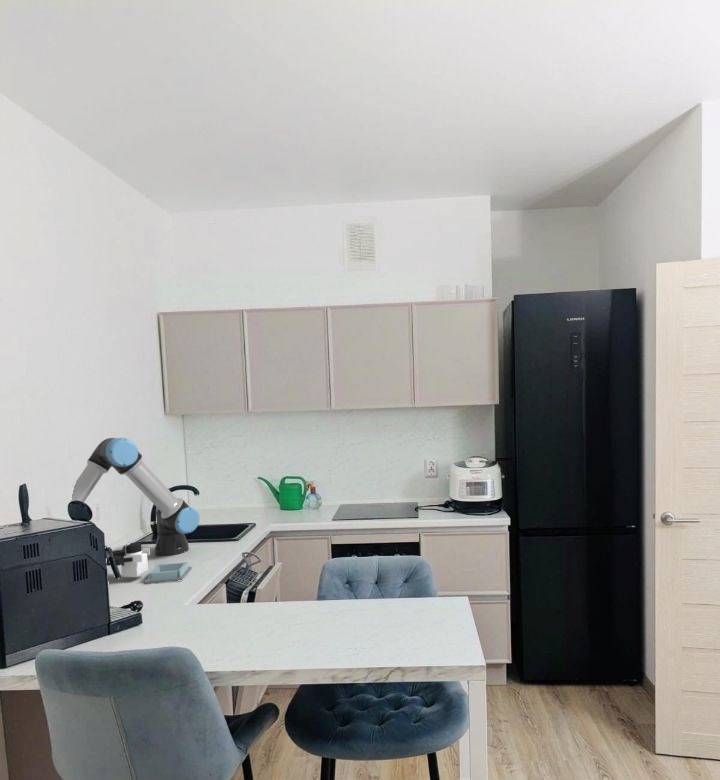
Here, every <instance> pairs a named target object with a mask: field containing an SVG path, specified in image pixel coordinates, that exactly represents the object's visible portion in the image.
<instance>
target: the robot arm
mask: <svg viewBox="0 0 720 780" xmlns="http://www.w3.org/2000/svg"><path fill="white" fill-rule="evenodd" d="M86 462H87V464H86V466H85V468H84V469H83V471H82V472H81V473H80V475H79V477H78V478H77V479H76V481H75V482H76V484H75V483H74V484H75V486H74V490H73V494H72V500H71V501H73V500H78V501H82V502H84V503H85V501H86V500H87V498H88V497H89V496H90V495H91V494H92V491H93V490H94V489H95V487H96V486H97V484H98V483H99V481H100V480H101V478H102V477H103V475H104V474H107V473H108V472H109V471H110V469H111V468H113V469H114V470H115V471H116V472H117V473H118V474H119V475H125V476H126V477H127V478H128V479H129V480H130V481H131V482H132V483H133V484H134V485H135V486H136V487H137V488H138V489H139V491H141V492H142V494H143V495H144V496H145V497H146V498H148V500H149V501H150V502H151V503H152V504H153V505H154V506H155V514H156V516H155V517H156V529H157V539H156V542H155V545H154V546H155V547H154V554H155V555H156V556H160V555H166V556H173V555H172V554H174V555H178V553H179V554H182V553H181V552H183V553H185V552H184V551H186V552H187V551H189V550H188V549H190V547H189V546H190V545H189V542H188V540H187V538H186V535H185V534H190V533H193V532H194V531H195V530H196V529H197V528H198V526H199V524H200V514H199V511H198V510H197V509H196V508H194V507H193V506H190V505H188V503H187V502H186V501H185V500H184V499H183V498H180V497H179V498H178V497H176V496H175V495H174V493H172V491H171V490H170V489H169V488H168V487H167V486H166V485H165V484H164V483H163V482H162V481H161V480H160V479H159V478H158V476H157V475H156V474H155V473H154V472H153V471H152V470H151V469H150V468H149V467H148V466H147V465H146V463H144V461H143V455H142V453H140V451H139V450H138V446H137V445H136V443H135V442H134V441H133V440H132V439H128V438H126V437H109V438H105V439H104V440H102V441H101V442H99V444H98V445H97V446H96V447H95V449H94V450H93V452H91V455H90V456H89V458H88V459H87V460H86ZM111 551H112V553H113V556H114V559H115V562H116V565H115V566H121V565H122V566H124V562H125V563H134V562H142V554H140V555H129V556H127V555H126V552H125V549H117V550H111ZM142 553H147V556H150V555H151V550H150V547H147V548H145V547H144V548H142ZM107 567H110V563H109V559H108V558H107Z"/></svg>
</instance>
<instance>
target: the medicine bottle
mask: <svg viewBox="0 0 720 780" xmlns="http://www.w3.org/2000/svg"><path fill="white" fill-rule="evenodd" d="M142 546H143V545H142V543H141V542H138V541H136V542H135V541H134V542H129V543H127V544H125V546H124V548H125V552H126V555H127V556H129V555H140V554H142V562H134V563H125V562H124V566H122V565H120V566H121V576H122V577H138V576H141V575H143V574H145V573H146V572H148V571H149V564H148V560H149V559H148V555H147V553H142V549H143V547H142Z"/></svg>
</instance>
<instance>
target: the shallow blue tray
mask: <svg viewBox="0 0 720 780" xmlns="http://www.w3.org/2000/svg"><path fill="white" fill-rule="evenodd" d="M191 569H192V566H189V561H186V562H174V563H161V564H156V565H155V566H154V567H153V568H152V569H151V570H150V571H149V572H148V573H147V579H146V580H145V581H144V585H152V584H151V583H155V584H159V583H158V582H166V581H178V580H182V579H183V578H184V577H185V576H186V575H187V576H188V574H189V573H190V572H191V571H192V570H191ZM190 570H191V571H190ZM189 571H190V572H189ZM188 572H189V573H188ZM187 573H188V574H187ZM187 576H186V577H187ZM186 577H185V578H186ZM185 578H184V579H185ZM184 579H183V580H184ZM183 580H182V581H183ZM178 582H179V581H178ZM166 583H167V582H166Z"/></svg>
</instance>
